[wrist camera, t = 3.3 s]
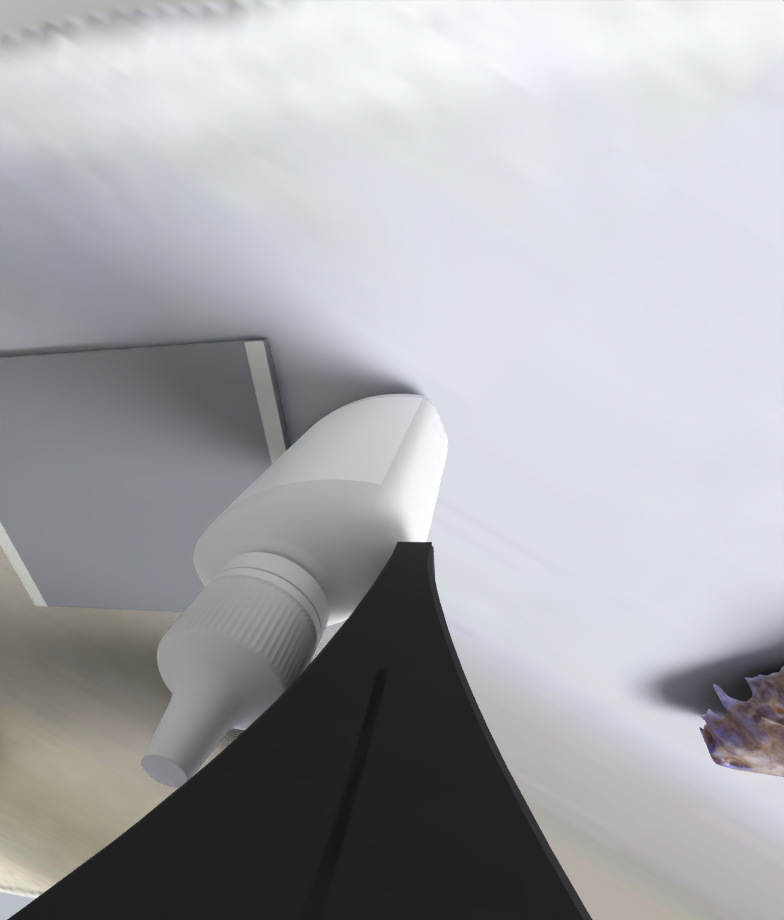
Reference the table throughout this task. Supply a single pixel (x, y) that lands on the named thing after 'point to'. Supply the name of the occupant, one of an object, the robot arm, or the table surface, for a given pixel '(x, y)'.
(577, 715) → the table surface
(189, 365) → the mat
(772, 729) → the skull
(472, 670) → the table surface
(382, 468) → the eye dropper bottle
